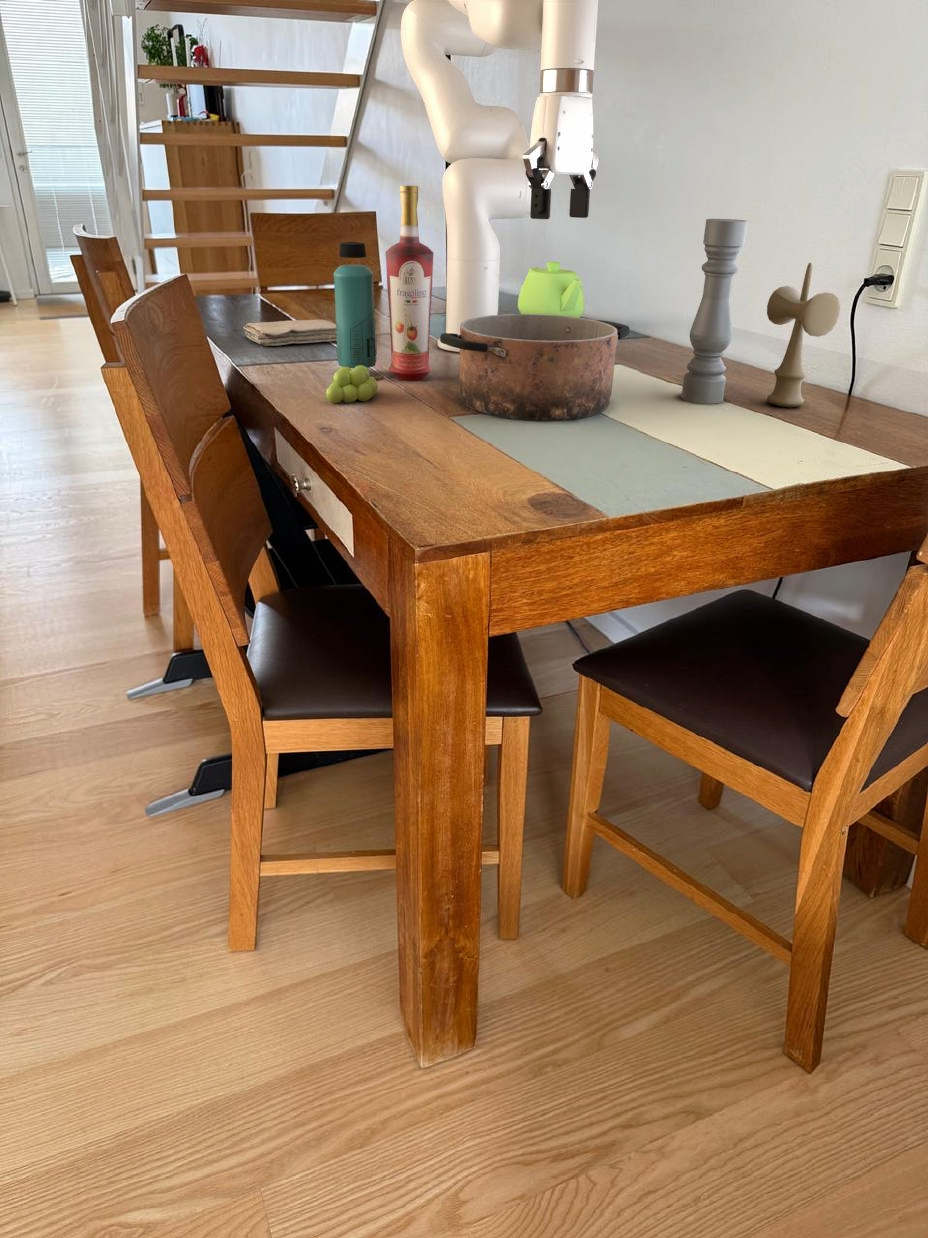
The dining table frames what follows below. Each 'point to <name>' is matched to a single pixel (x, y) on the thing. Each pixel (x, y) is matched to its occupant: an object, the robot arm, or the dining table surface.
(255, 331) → the washcloth
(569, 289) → the teapot
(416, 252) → the liquor
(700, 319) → the candle holder
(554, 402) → the cooking pot
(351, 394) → the grapes
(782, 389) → the kendama
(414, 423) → the dining table surface
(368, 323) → the beverage bottle
